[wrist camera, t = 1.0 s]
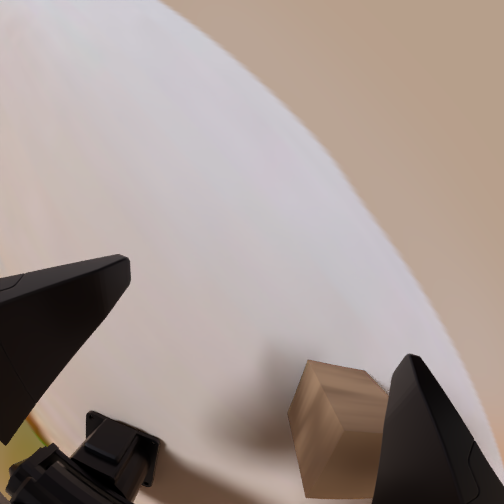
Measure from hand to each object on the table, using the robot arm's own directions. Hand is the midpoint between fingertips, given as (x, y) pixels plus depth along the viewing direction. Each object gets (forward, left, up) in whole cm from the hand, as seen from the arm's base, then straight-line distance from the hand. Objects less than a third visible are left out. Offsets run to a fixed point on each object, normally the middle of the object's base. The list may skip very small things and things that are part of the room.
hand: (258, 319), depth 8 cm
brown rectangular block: (-6, -7, -11) cm, 15 cm away
